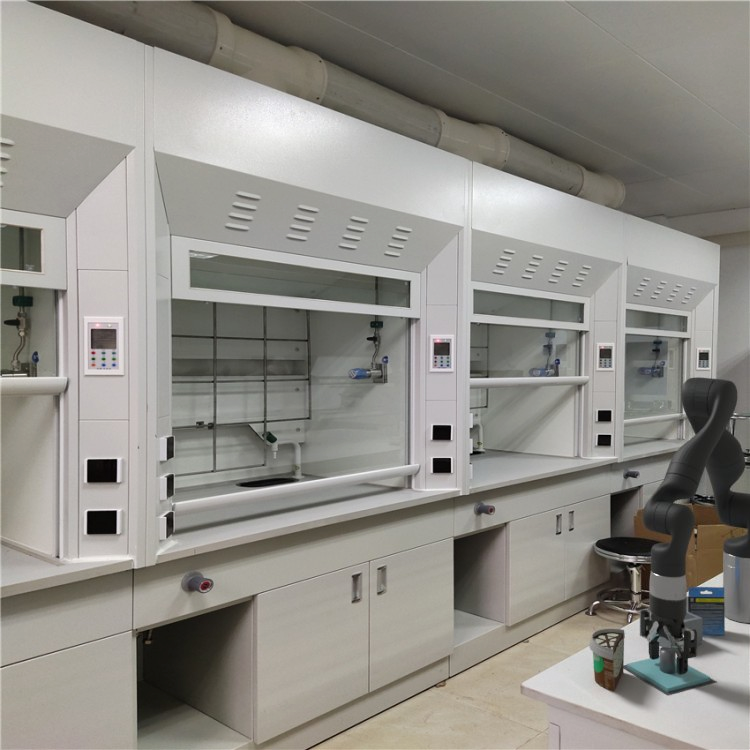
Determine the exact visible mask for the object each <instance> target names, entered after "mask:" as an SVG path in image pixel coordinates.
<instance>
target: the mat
mask: <svg viewBox="0 0 750 750" xmlns="http://www.w3.org/2000/svg"><path fill="white" fill-rule="evenodd" d="M623 670H625V671H627V672H628V673H629V674H631V675H633V676H635V677H636V678H638V679H640V680H641V681H643V682H644V683H646V684H648V685H649V686H651V687H653V688H654V689H656V690H657V691H660V692H661V693H662V694H664V695H666V696H670V695H671V696H672V695H675V694H680V693H682V692H685V691H690V690H693V689H698V688H701V687H704V686H709V685H712V684H715V683H718V681H717V680H715V679H713V678H711V677H710V681H707V682H704V683H700V684H696V685H692V686H689V687H685V688H681V689H678V690H674V691H670V692H667V691H665V690H663V689H662V688H660V687H658V686H657V685H655V684H653V683H652V682H650V681H648V680H647V679H645V678H643V677H642V676H640V675H638V674H637V673H635V672H633V671H632V670H630V669H628V668H627V664H624V668H623Z"/></svg>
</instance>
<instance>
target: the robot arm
mask: <svg viewBox="0 0 750 750" xmlns="http://www.w3.org/2000/svg"><path fill="white" fill-rule="evenodd" d="M680 397H681V405H682V408H683V411H684V414H685V415H686V417H687V420H688V422H689V423H690V426H691V428H692V430H693V433H694V436H693V437H691V438H690V439H689V440H686V442H685V443H684V444H682V446H680V447H679V448H678V449H677V451H675V453H674V454H673V456H672V458H671V459H670V462H669V464H668V467H667V470H666V472H665V475H664V478H663V480H662V482H661V483H660V484H659V486H658V487H657V488H656V490H655V491H654V492H653V493H652V495H651V496H650V498H649V499H648V500H647V501H646V503H645V505H644V508H643V511H642V517H641V518H642V519H641V520H642V523H643V525H644V527H645V528H646V529H647V530H648V531H650V532H653V533H656V534H657V533H658V534H663V535H667V536H671V539H670V542H660V543H655V544H653V545H652V547H651V549H650V576H649V607H648V608H649V609H648V608H644V609H645V610H643V609H640V610H641V635H642V636H645V637H646V638H647V639H646V638H645V639H646V641H647V642H648V656H649V658H651V659H652V660H654V659H658V658H659V656H660V646H659V642H658V641H657V640H659V639H660V637H664V638H665V639H667V640H668V641H669V642H670V644H671V646H672V647H673V648H674V649H675V652H676V659H677V661H676V672H677V673H678V674H679V675H682V674H685V673H686V672H687V671H688V665H689V659H693V658H695V657H697V656H698V655H697V652H698V651H697V648H698V645H697V631H696V630H695V629H692V630H690V629H688V628H686V627H685V624H684V618H685V616H686V614H687V591H688V590H687V589H688V588H687V587H688V585H687V583H688V582H687V577H686V576H687V575H686V573H687V572H686V563H687V562H686V559H687V558H686V557H687V552H688V549H689V544H690V542H691V541H690V540H691V537H692V535H693V531H694V529H695V525H696V518H695V514H694V512H693V510H692V509H691V508H690V507H689V506H687V505H685V504H681V503H677V501H680V500H689V499H692V498H694V497H695V495H696V493H697V491H698V489H699V485H700V482H701V480H702V476H703V474H704V471H706V472H707V475H708V478H709V481H710V484H711V485H710V486H711V489H712V493H713V494H712V495H713V499H714V504H715V509H716V514H717V517H718V519H719V522H720V523H721V524H723V525H724V526H728V527H733V528H739V529H745V530H747V531H746V534H744V535H741V536H736V537H729V538H726V539H725V540H724V541H723V546H722V547H723V550H722V551H723V552H722V553H723V554H722V556H723V557H722V559H723V561H722V564H723V566H722V570H723V571H722V572H723V573H722V587H724V599H725V618H726V619H729V620H731V621H733V622H734V621H735V622H739V623H743V624H744V623H745V624H750V493H745V492H739V491H733V490H731V487H732V486H733V485H734V484H735V483H736V482H737V481H738V480H740V478H741V476H743V474H744V472H745V468H746V458H745V456H744V451H743V448H742V445H741V443H740V441H739V440H738V439H737V437H736V436H735V435H734V434H732V433H731V431H729V430H728V429H727V426H728V424H729V422H730V421H731V419H732V417H733V414H734V412H735V411H736V406H737V403H738V389H737V386H736V384H735V383H734V382H733V381H732V380H728V379H721V378H712V377H711V378H709V377H700V376H698V377H690V378H687V379H686V380H685V381H684V383H683V385H682V386H681V392H680ZM705 469H706V470H705ZM675 502H676V503H675ZM647 626H648V630H646V627H647ZM642 636H641V637H642ZM677 639H680V642H676V641H675V640H677ZM679 646H681V648H682V649H681V650H680V647H679Z"/></svg>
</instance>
